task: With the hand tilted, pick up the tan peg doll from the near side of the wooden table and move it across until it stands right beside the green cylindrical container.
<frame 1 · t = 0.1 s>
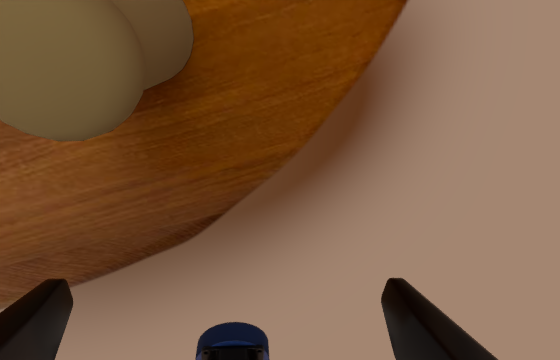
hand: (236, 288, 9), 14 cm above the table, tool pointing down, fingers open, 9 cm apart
tan peg doll: (140, 29, 19), on the table
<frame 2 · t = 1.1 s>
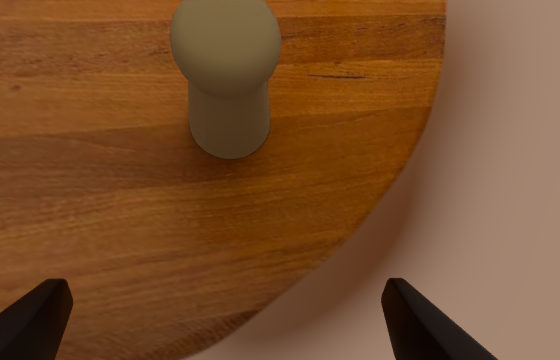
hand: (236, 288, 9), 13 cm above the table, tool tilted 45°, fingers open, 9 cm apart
tan peg doll: (230, 121, 25), on the table
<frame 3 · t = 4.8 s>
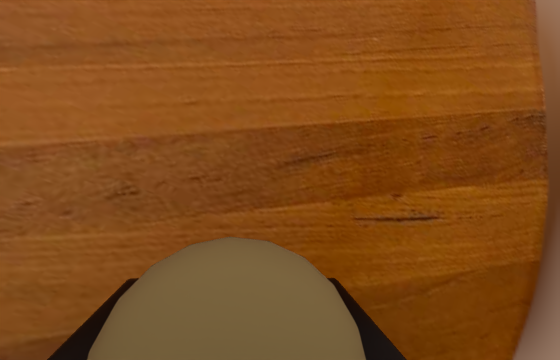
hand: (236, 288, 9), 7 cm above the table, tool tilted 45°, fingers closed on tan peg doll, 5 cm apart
tan peg doll: (234, 308, 15), on the table, touching gripper
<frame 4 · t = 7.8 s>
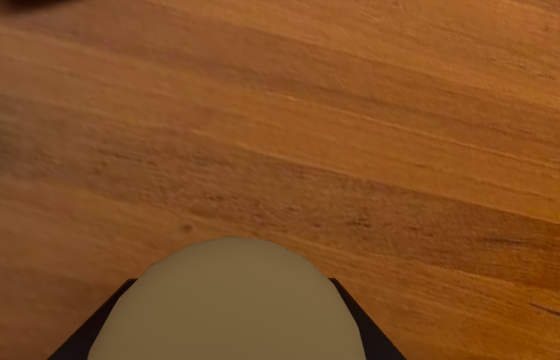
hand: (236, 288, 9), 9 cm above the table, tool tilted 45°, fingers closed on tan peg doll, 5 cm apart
tan peg doll: (234, 308, 15), point 2 cm above the table, touching gripper
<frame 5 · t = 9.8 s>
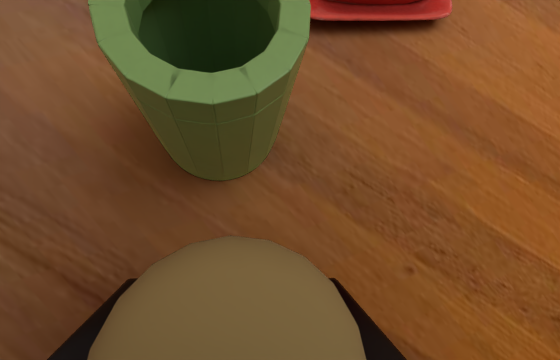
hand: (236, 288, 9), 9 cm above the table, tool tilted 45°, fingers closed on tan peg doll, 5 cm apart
tan peg doll: (234, 308, 15), point 2 cm above the table, touching gripper
green cylindrical container: (219, 126, 20), on the table
when the fingers open (7 cm above the table, at t = 11.1 s): tan peg doll stays where it is, on the table.
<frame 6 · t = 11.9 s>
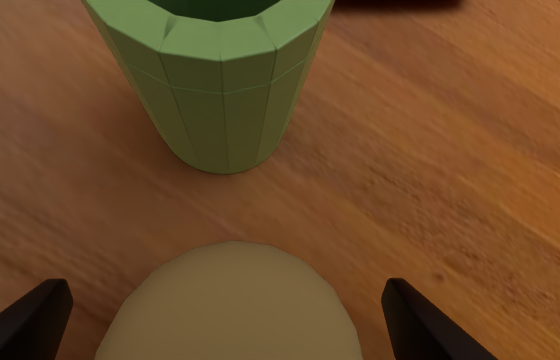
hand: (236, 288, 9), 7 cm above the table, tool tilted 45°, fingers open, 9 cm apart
tan peg doll: (234, 309, 16), on the table
green cylindrical container: (224, 113, 18), on the table
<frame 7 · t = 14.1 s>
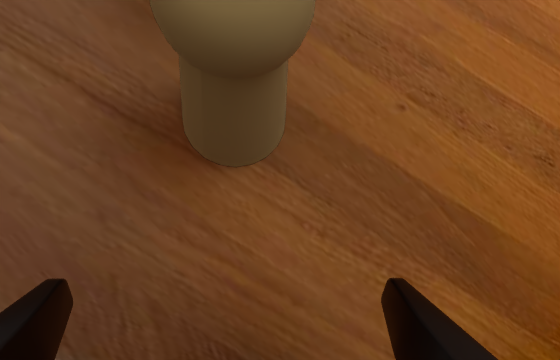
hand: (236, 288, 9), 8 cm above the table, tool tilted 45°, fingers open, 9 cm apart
tan peg doll: (234, 119, 20), on the table
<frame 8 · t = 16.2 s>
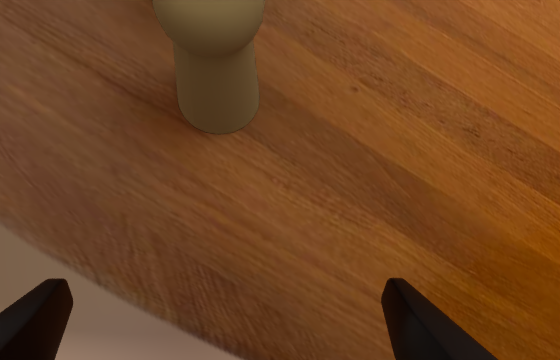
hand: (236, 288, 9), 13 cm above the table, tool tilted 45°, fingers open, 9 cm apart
tan peg doll: (219, 97, 25), on the table
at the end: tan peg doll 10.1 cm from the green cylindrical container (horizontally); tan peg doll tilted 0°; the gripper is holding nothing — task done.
